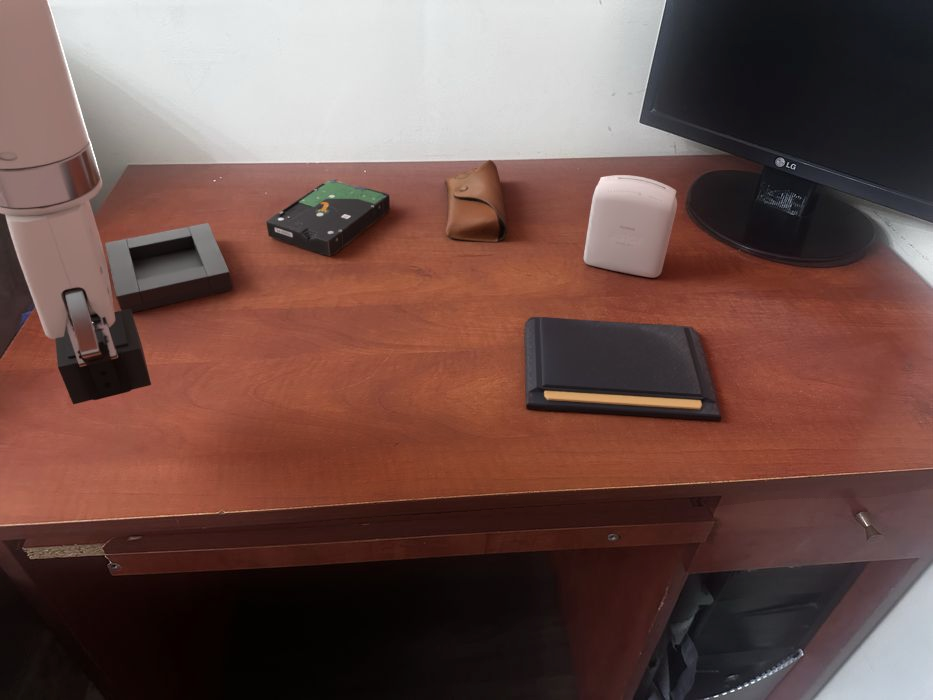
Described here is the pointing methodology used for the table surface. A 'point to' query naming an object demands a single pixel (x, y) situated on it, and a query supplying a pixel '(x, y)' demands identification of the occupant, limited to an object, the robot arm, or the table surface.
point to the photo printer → (630, 225)
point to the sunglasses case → (476, 205)
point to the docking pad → (167, 268)
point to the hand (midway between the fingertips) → (107, 367)
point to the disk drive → (328, 217)
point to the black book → (617, 369)
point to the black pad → (122, 337)
